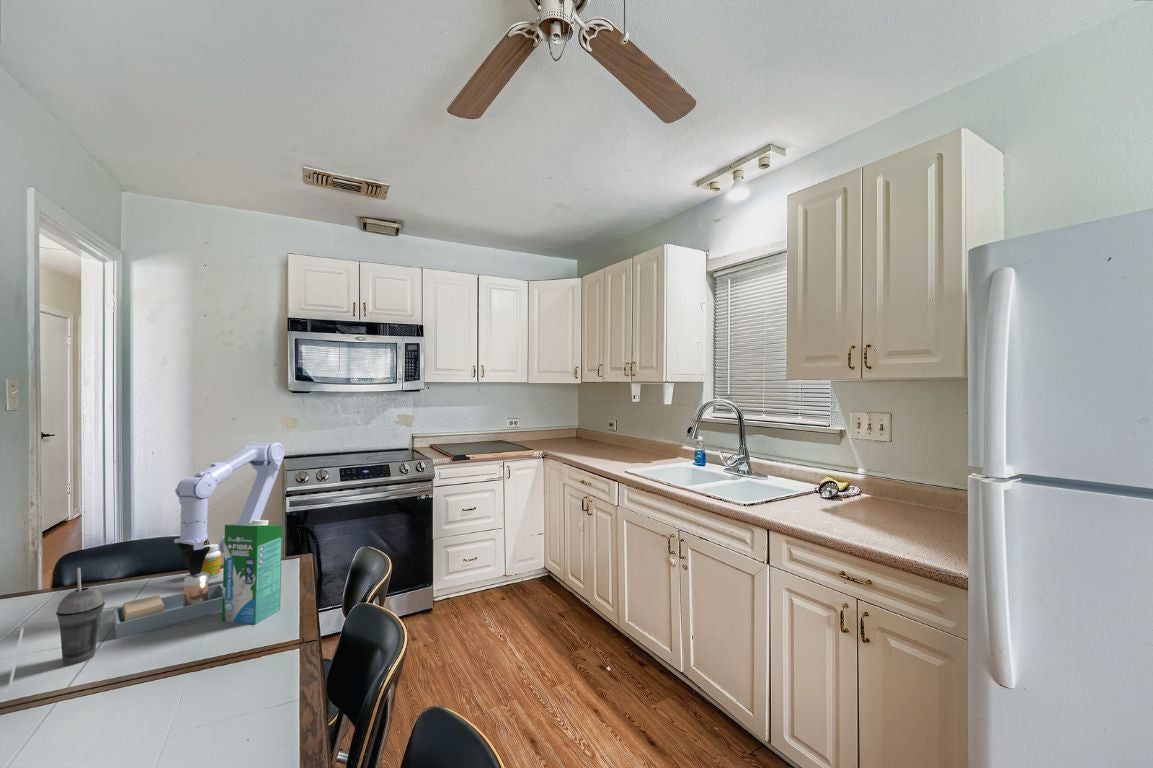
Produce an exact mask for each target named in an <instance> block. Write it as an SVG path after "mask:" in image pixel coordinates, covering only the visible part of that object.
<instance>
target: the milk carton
mask: <svg viewBox="0 0 1153 768" xmlns="http://www.w3.org/2000/svg"><path fill="white" fill-rule="evenodd" d="M224 535H225V536H224ZM224 535H223V536H224V553H223V573H222V575H223V576H222V577H223V578H222V582H223V601H222V611H221V622H225V623H226V622H227V623H243V624H244V623H245V624H247V626H255V625H257V624H258V623H260V622H262V621H264V620H266V618H268V617H270V616H272V615H273V614H275V613H276V612H278V611H280V610H281V594H282V593H281V591H282V589H281V588H282V585H281V584H282V551H283V550H282V549H283V547H282V546H283V525H282V524H281V525H280V524H269V520H268V519H267V520H266V519H260V520H252V521H251V524H238V525H233V524H225V525H224Z"/></svg>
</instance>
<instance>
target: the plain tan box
mask: <svg viewBox="0 0 1153 768" xmlns="http://www.w3.org/2000/svg"><path fill="white" fill-rule="evenodd" d="M161 598H162V597H161V595H159V594H156V595H152V596H148V597H144V598H139V599H136V600H131V601H125V602H124V603H123V604H122V607H123V609H122V622H125V621H129V620H133V619H137V618H141V617H145V616H149V615H153V614H157V613H161V612H164V604H163V602H162V600H161Z"/></svg>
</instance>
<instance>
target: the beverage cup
mask: <svg viewBox="0 0 1153 768" xmlns="http://www.w3.org/2000/svg"><path fill="white" fill-rule="evenodd" d="M76 573H77V575H76V577H77V589H75V590H73V591H71V592H70V593H68V594H66V596H65V597H63V599H61V601H60V602H59V604H58V606H57V611H56V613H55V614H56V616H57V621H58V624H59V632H60V643H61V644H60V645H61V657H62V662H63V665H64V666H73V665H78V664H81V663H84V662H87V661H89V660H90V659H93V658H94V656H95V652H96V650H97V644H98V639H99V632H100V631H99V630H100V624H101V618H102V617H101V616H102V614H103V611H104V608H105V607H104V606H105V604H106V602H105V599H104V595H103V594H102V592H101V591H100V590H99V589H97V588H93V587H82V573H81V567H78V568H76Z"/></svg>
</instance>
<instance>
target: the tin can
mask: <svg viewBox="0 0 1153 768" xmlns="http://www.w3.org/2000/svg"><path fill="white" fill-rule="evenodd" d="M208 575H209V573H207V572H201V573H200V574H195V575H190V574H187V575H186V576H184V580H183V581H184V584H183V593H184V597H183V607H185V606H189V605H193V604H197V603H201V602H205V601H208V587H209V582H210V581H209V579H208Z"/></svg>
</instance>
